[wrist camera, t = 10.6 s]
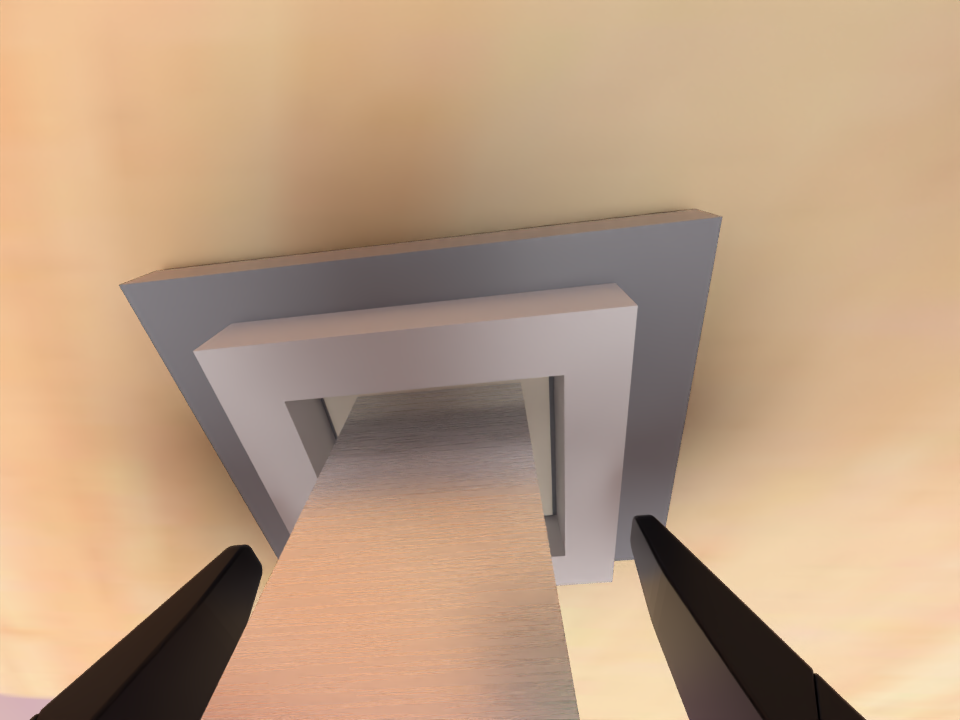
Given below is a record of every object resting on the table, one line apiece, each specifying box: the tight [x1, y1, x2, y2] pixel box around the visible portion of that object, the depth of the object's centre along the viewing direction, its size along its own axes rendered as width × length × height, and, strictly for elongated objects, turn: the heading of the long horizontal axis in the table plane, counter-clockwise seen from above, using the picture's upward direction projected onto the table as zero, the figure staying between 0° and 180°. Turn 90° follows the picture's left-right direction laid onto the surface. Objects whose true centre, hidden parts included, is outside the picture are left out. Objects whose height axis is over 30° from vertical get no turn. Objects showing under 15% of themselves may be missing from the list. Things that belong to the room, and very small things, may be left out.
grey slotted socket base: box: [119, 209, 722, 586], centre depth 12 cm, size 14×12×3 cm
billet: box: [201, 383, 580, 720], centre depth 8 cm, size 4×4×8 cm
